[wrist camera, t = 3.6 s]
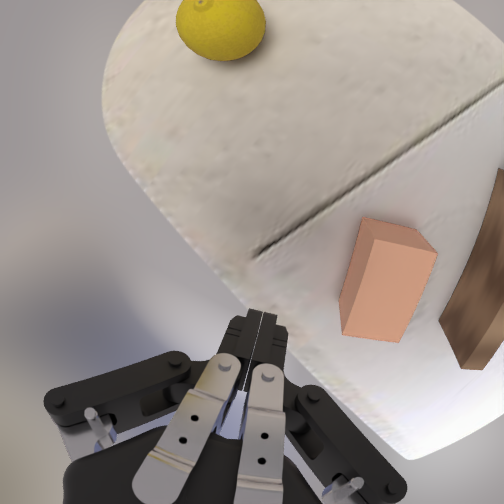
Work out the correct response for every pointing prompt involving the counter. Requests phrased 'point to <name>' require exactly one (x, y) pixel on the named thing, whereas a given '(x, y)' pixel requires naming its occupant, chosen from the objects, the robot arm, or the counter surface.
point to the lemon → (221, 27)
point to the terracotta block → (384, 280)
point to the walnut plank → (480, 292)
